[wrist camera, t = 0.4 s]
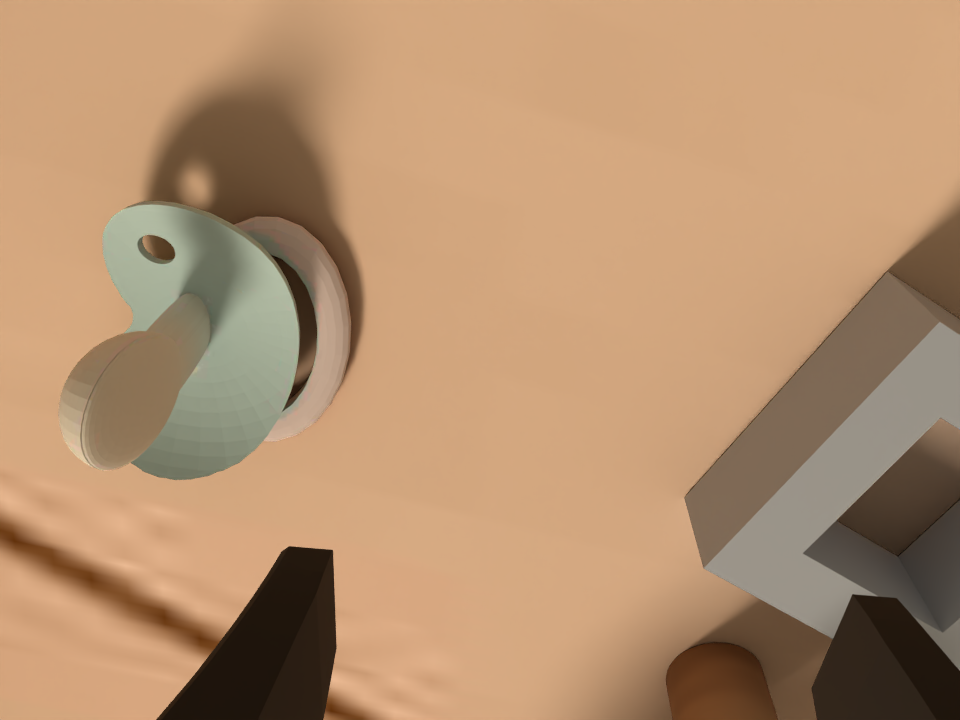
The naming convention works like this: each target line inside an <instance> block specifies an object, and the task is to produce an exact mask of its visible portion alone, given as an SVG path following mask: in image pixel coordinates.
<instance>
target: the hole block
mask: <svg viewBox="0 0 960 720" xmlns="http://www.w3.org/2000/svg"><path fill="white" fill-rule="evenodd" d="M940 418H942V419H944V420H945V421H947V422H948V423H950V424H951V425H953V426H955V427H956V428H958V429H959V430H960V319H958V318H957V317H955V316H954V315H952V314H951V313H949V312H948V311H946V310H945V309H943V308H942V307H940V306H939V305H937V304H936V303H934V302H933V301H931V300H930V299H928V298H927V297H925V296H924V295H922V294H921V293H919V292H918V291H916V290H915V289H913V288H912V287H910V286H909V285H907V284H906V283H904V282H903V281H901V280H900V279H898V278H897V277H895V276H894V275H892V274H891V273H889V272H888V271H887V272H886V273H885V275H884V276H883V277H882V278H881V279H880V280H879V281H878V282H877V284H876V285H875V286H874V287H873V288H872V289H871V290H870V291H869V292H868V294H867V295H866V296H865V297H864V298H863V299H862V300H861V301H860V302H859V304H858V305H857V306H856V307H855V308H854V309H853V310H852V311H851V312H850V314H849V315H848V316H847V317H846V318H845V319H844V320H843V321H842V322H841V324H840V325H839V326H838V327H837V328H836V329H835V330H834V331H833V333H832V334H831V335H830V336H829V337H828V338H827V339H826V340H825V341H824V343H823V344H822V345H821V346H820V347H819V348H818V349H817V350H816V351H815V353H814V354H813V355H812V356H811V357H810V358H809V359H808V360H807V361H806V363H805V364H804V365H803V366H802V367H801V368H800V369H799V370H798V371H797V373H796V374H795V375H794V376H793V377H792V378H791V379H790V380H789V382H788V383H787V384H786V385H785V386H784V387H783V388H782V389H781V390H780V392H779V393H778V394H777V395H776V396H775V397H774V398H773V399H772V400H771V402H770V403H769V404H768V405H767V406H766V407H765V408H764V409H763V410H762V412H761V413H760V414H759V415H758V416H757V417H756V418H755V419H754V420H753V422H752V423H751V424H750V425H749V426H748V427H747V428H746V429H745V431H744V432H743V433H742V434H741V435H740V436H739V437H738V438H737V439H736V441H735V442H734V443H733V444H732V445H731V446H730V447H729V448H728V449H727V451H726V452H725V453H724V454H723V455H722V456H721V457H720V458H719V459H718V461H717V462H716V463H715V464H714V465H713V466H712V467H711V468H710V470H709V471H708V472H707V473H706V474H705V475H704V476H703V477H702V478H701V480H700V481H699V482H698V483H697V484H696V485H695V486H694V487H693V488H692V490H691V491H690V492H689V493H688V494H687V495H686V496H685V497H684V498H685V502H686V506H687V509H688V513H689V517H690V520H691V524H692V528H693V531H694V535H695V539H696V542H697V546H698V549H699V553H700V557H701V560H702V564H703V568H704V569H706V570H707V571H709V572H711V573H713V574H715V575H717V576H718V577H720V578H722V579H724V580H726V581H728V582H729V583H731V584H733V585H735V586H737V587H739V588H740V589H742V590H744V591H746V592H748V593H750V594H751V595H753V596H755V597H757V598H759V599H760V600H762V601H764V602H766V603H768V604H770V605H771V606H773V607H775V608H777V609H779V610H781V611H782V612H784V613H786V614H788V615H790V616H792V617H793V618H795V619H797V620H799V621H801V622H803V623H804V624H806V625H808V626H810V627H812V628H814V629H815V630H817V631H819V632H821V633H823V634H824V635H826V636H828V637H830V638H832V639H833V638H834V636H835V633H836V631H837V629H838V626H839V624H840V622H841V619H842V617H843V615H844V612H845V610H846V608H847V606H848V603H849V601H850V599H851V596H852V594H856V595H868V596H880V597H892V598H897V599H898V600H899V601H900V602H901V603H902V604H903V605H904V607H905V608H906V609H907V610H908V611H909V612H910V613H911V615H912V616H913V617H914V618H915V619H916V620H917V621H918V623H919V624H920V625H921V626H922V627H923V628H924V630H925V631H926V632H927V633H928V634H929V635H930V637H931V638H932V639H933V640H934V641H935V642H936V644H937V645H938V646H939V647H940V648H941V649H942V651H943V652H944V653H945V654H946V655H947V656H948V658H949V659H950V660H951V661H952V662H953V663H954V665H955V666H956V667H957V668H958V669H959V670H960V500H959V501H958V502H957V503H956V504H955V505H954V506H953V507H951V508H950V509H949V510H948V511H947V512H946V513H945V514H944V515H943V516H942V517H941V518H939V519H938V520H937V521H936V522H935V523H934V524H933V525H932V526H931V527H930V528H929V529H928V530H926V531H925V532H924V533H923V534H922V535H921V536H920V537H919V538H918V539H917V540H916V541H914V542H913V543H912V544H911V545H910V546H909V547H908V548H907V549H906V550H905V551H904V552H903V553H901V554H900V555H899V556H896V555H894V554H892V553H891V552H889V551H887V550H886V549H884V548H882V547H880V546H879V545H877V544H875V543H874V542H872V541H870V540H868V539H867V538H865V537H863V536H862V535H860V534H858V533H856V532H855V531H853V530H851V529H850V528H848V527H846V526H844V525H843V524H841V523H839V522H838V521H836V520H837V519H838V518H839V517H840V516H841V515H842V514H843V513H844V512H845V511H846V510H847V509H848V508H849V507H850V506H851V505H852V504H853V503H854V502H855V501H856V500H857V499H858V498H860V497H861V496H862V495H863V494H864V493H865V492H866V491H867V490H868V489H869V488H870V487H871V486H872V485H873V484H874V483H875V482H876V481H877V480H878V479H879V478H880V477H881V476H882V475H883V474H884V473H885V472H886V471H887V470H888V469H889V468H890V467H891V466H892V465H893V464H894V463H895V462H896V461H897V460H898V459H899V458H900V457H901V456H902V455H903V454H904V453H905V452H906V451H907V450H908V449H909V448H910V447H911V446H912V445H913V444H914V443H915V442H916V441H917V440H918V439H919V438H921V437H922V436H923V435H924V434H925V433H926V432H927V431H928V430H929V429H930V428H931V427H932V426H933V425H934V424H935V423H936V422H937V421H938V420H939V419H940Z"/></svg>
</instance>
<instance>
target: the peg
mask: <svg viewBox="0 0 960 720" xmlns="http://www.w3.org/2000/svg"><path fill="white" fill-rule="evenodd" d="M666 685H667V691H668V696H669V702H670V707H671V713H672V718H673V720H778V718H777V715H776V711H775V708H774V705H773V702H772V699H771V696H770V692H769V689H768V686H767V683H766V680H765V677H764V673H763V670H762V667H761V665H760V663H759V661H758V660H757V658H756V657H755V656H754V655H753V654H752V653H750V652H749V651H747V650H746V649H744V648H742V647H739V646H736V645H733V644H728V643H707V644H702V645H699V646H695V647H693V648H690V649H688V650H687V651H685V652H683V653H682V654H680V655H679V656H678V657H677V658H676V659H675V660H674V661H673V662H672V663H671V665H670V667H669V669H668V671H667V675H666Z"/></svg>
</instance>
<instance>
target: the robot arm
mask: <svg viewBox="0 0 960 720" xmlns="http://www.w3.org/2000/svg"><path fill="white" fill-rule="evenodd" d="M335 653H336V622H335V595H334V568H333V550H326V549H314V548H302V547H291V546H289V547H288V548H286V549H285V550H283V551H282V552H281V554H280V555H279V557H278V558H277V560H276V562H275V563H274V565H273V567H272V568H271V570H270V571H269V573H268V575H267V576H266V578H265V579H264V581H263V582H262V584H261V585H260V587H259V588H258V590H257V591H256V593H255V594H254V596H253V597H252V599H251V600H250V601H249V603H248V604H247V606H246V607H245V608H244V610H243V611H242V613H241V614H240V615H239V617H238V618H237V620H236V621H235V622H234V624H233V625H232V627H231V628H230V629H229V631H228V632H227V633H226V634H225V636H224V637H223V638H222V640H221V641H220V642H219V644H218V645H217V646H216V648H215V649H214V650H213V651H212V653H211V654H210V655H209V657H208V658H207V659H206V661H205V662H204V663H203V664H202V666H201V667H200V668H199V670H198V671H197V672H196V673H195V675H194V676H193V677H192V678H191V680H190V681H189V682H188V683H187V684H186V685H185V687H184V688H183V689H182V690H181V691H180V693H179V694H178V695H177V696H176V697H175V698H174V700H173V701H172V702H171V703H170V704H169V705H168V707H167V708H166V709H165V710H164V711H163V712H162V714H161V715H160V716H159V717H158V718H157V719H156V720H323V718H324V713H325V708H326V702H327V697H328V692H329V686H330V681H331V675H332V670H333V664H334V658H335ZM812 693H813V699H814V704H815V710H816V716H817V720H960V670H959V669H958V668H957V667H956V666H955V665H954V663H953V662H952V661H951V660H950V659H949V658H948V656H947V655H946V654H945V653H944V652H943V651H942V649H941V648H940V647H939V646H938V645H937V644H936V642H935V641H934V640H933V639H932V638H931V637H930V635H929V634H928V633H927V632H926V631H925V630H924V628H923V627H922V626H921V625H920V624H919V623H918V621H917V620H916V619H915V618H914V617H913V616H912V615H911V613H910V612H909V611H908V610H907V609H906V608H905V607H904V605H903V604H902V603H901V602H900V601H899V600H898V599H897V598H892V597H880V596H868V595H856V594H852V596H851V599H850V601H849V603H848V606H847V608H846V610H845V612H844V615H843V617H842V619H841V622H840V624H839V626H838V629H837V631H836V633H835V636H834V638H833V640H832V642H831V645H830V647H829V649H828V652H827V654H826V656H825V659H824V661H823V663H822V666H821V668H820V670H819V673H818V675H817V677H816V679H815V682H814V684H813V686H812Z"/></svg>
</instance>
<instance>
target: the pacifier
mask: <svg viewBox="0 0 960 720" xmlns="http://www.w3.org/2000/svg"><path fill="white" fill-rule="evenodd" d="M145 235H155V236H159V237H161V238H163V239H165V240H167V241H168V242H169V243H170V244H171V245H172V246H173V248H174V250H175V258H174V259H171V260H162V259H159V258H156V257H154V256H152V255H151V254H150V253H149V252H148V251H147V250H146V249H145V247H144V245H143V243H142V238H143V236H145ZM270 254H271V255H273V256H276V257H278V258H281V259H282V260H284V261H285V262H286V263H287V264H288V265H289V266H290V267H292V268H293V269H294V270H295V271H296V272H297V274H298V275H299V277H300V278H301V280H302V281H303V283H304V284H305V286H306V287H307V290H308V293H309V295H310V298H311V301H312V304H313V306H314V311H315V317H316V323H317V351H316V356H315V360H314V365H313V369H312V372H311V374H310V377H309V379H308V380H307V382H306V383H305V384H304V386H303V387H302V388H301V389H300V391H299V392H298V393H297V394H296V395H295V396H293V397H292V398H291V399H289V400H288V397H289V395H290V393H291V390H292V386H293V382H294V378H295V374H296V369H297V363H298V357H299V346H300V326H299V319H298V313H297V307H296V302H295V299H294V297H293V294H292V291H291V288H290V286H289V283H288V281H287V279H286V277H285V275H284V274H283V272H282V270H281V269H280V267H279V266H278V264H277V263H276V261H275V260H274V259H273V258H272V257H271V255H270ZM103 255H104V259H105V263H106V267H107V270H108V272H109V274H110V276H111V279H112V281H113V283H114V285H115V286H116V288H117V289H118V291H119V293H120V295H121V296H122V298H123V299H124V300H125V302H126V303H127V304H128V305H129V306H130V307H131V309H132V312H133V322H132V325H131V326H130V328H129V329H127V331H126V332H125V333H124V334H121V335H117V336H115V337H113V338H110V339H108V340H106V341H104V342H102V343H101V344H99V345H98V346H96V347H94V348H93V349H92V350H91V351H89V352H88V353H87V354H86V355H85V356H84V357H83V358H82V359H81V360H80V361H79V362H78V363H77V365H76V366H75V367H74V369H73V370H72V372H71V373H70V375H69V377H68V378H67V380H66V383H65V385H64V387H63V390H62V393H61V397H60V402H59V414H58V416H59V425H60V429H61V432H62V435H63V438H64V440H65V442H66V444H67V445H68V447H69V448H70V450H71V451H72V452H73V454H74V455H75V456H77V457H78V458H79V459H80V460H82V461H83V462H84V463H86V464H87V465H89V466H91V467H94V468H96V469H99V470H108V471H110V470H114V469H118V468H121V467H123V466H125V465H128V464H129V463H132V464H134V465H135V466H137V467H138V468H140V469H141V470H142V471H144V472H146V473H149V474H152V475H154V476H157V477H161V478H168V479H173V480H186V479H195V478H199V477H205V476H209V475H211V474H214V473H216V472H219V471H223V470H225V469H227V468H229V467H231V466H233V465H235V464H237V463H239V462H241V461H242V460H243V459H244V458H245V457H247V456H248V455H249V454H250V453H251V452H253V451H254V450H255V449H256V448H257V447H258V446H259V445H260V444H261V443H262V441H279V440H282V439H286V438H289V437H292V436H295V435H298V434H299V433H301V432H302V431H304V430H305V429H306V428H308V427H309V426H311V425H312V424H314V423H315V422H316V421H317V420H318V419H319V418H320V416H321V415H322V414H323V413H324V412H325V410H326V409H327V408H328V407H329V406H330V404H331V403H332V401H333V399H334V397H335V395H336V393H337V391H338V389H339V387H340V385H341V383H342V381H343V378H344V374H345V370H346V366H347V362H348V358H349V354H350V340H351V317H350V311H349V304H348V297H347V292H346V290H345V287H344V284H343V282H342V279H341V276H340V273H339V271H338V268H337V266H336V264H335V263H334V261H333V260H332V258H331V257H330V255H329V254H328V252H327V251H326V249H325V248H324V246H323V245H322V243H321V242H320V241H318V240H317V239H316V238H315V237H314V236H313V235H311V234H310V233H309V232H308V231H307V230H306V229H304V228H303V227H302V226H300V225H298V224H295V223H293V222H290V221H288V220H285V219H283V218H280V217H257V216H256V217H253V218H250V219H247V220H245V221H242V222H239V223H236V224H234V225H233V224H231V223H229V222H228V221H226V220H224V219H222V218H220V217H218V216H216V215H214V214H212V213H209V212H206V211H203V210H201V209H198V208H195V207H192V206H188V205H184V204H180V203H175V202H166V201H144V202H140V203H137V204H134V205H131V206H128V207H126V208H125V209H123V210H122V211H120V212H118V213H117V214H115V215H114V216H113V217H112V218H111V220H110V221H109V222H108V224H107V226H106V227H105V229H104V232H103ZM287 400H288V401H287Z"/></svg>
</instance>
